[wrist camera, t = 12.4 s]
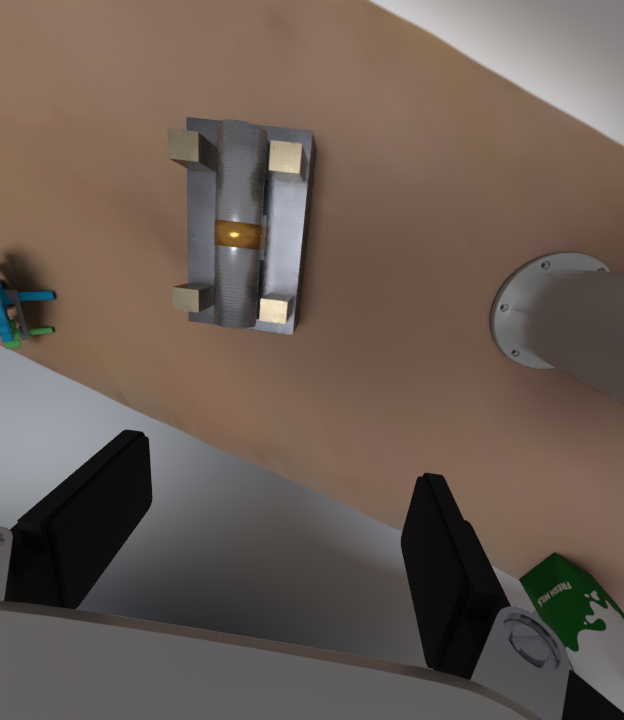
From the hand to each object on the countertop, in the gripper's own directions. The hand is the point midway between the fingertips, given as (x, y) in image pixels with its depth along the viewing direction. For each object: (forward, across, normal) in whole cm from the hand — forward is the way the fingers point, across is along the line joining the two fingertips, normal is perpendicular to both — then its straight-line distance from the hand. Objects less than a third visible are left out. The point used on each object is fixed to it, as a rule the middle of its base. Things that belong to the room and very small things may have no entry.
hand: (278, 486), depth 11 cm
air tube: (+21, +8, -8) cm, 24 cm away
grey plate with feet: (+28, +8, -8) cm, 30 cm away
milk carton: (+28, -39, +34) cm, 59 cm away
